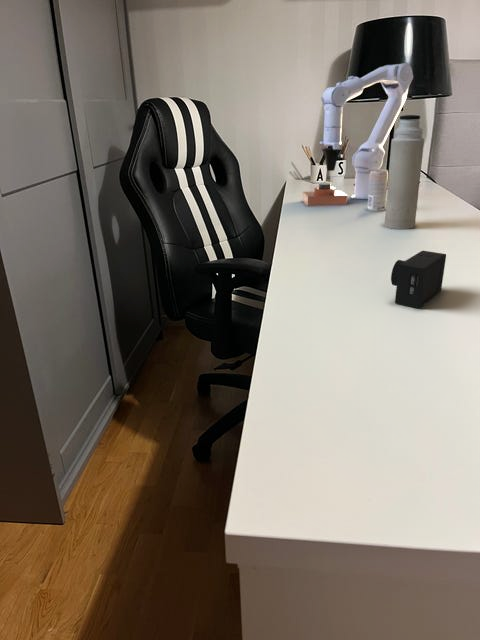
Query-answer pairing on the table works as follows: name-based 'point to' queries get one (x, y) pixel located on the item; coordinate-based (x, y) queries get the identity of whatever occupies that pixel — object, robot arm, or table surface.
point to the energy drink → (377, 190)
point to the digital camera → (418, 278)
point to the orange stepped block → (324, 197)
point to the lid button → (324, 186)
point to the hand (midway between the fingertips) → (330, 170)
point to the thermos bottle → (404, 174)
